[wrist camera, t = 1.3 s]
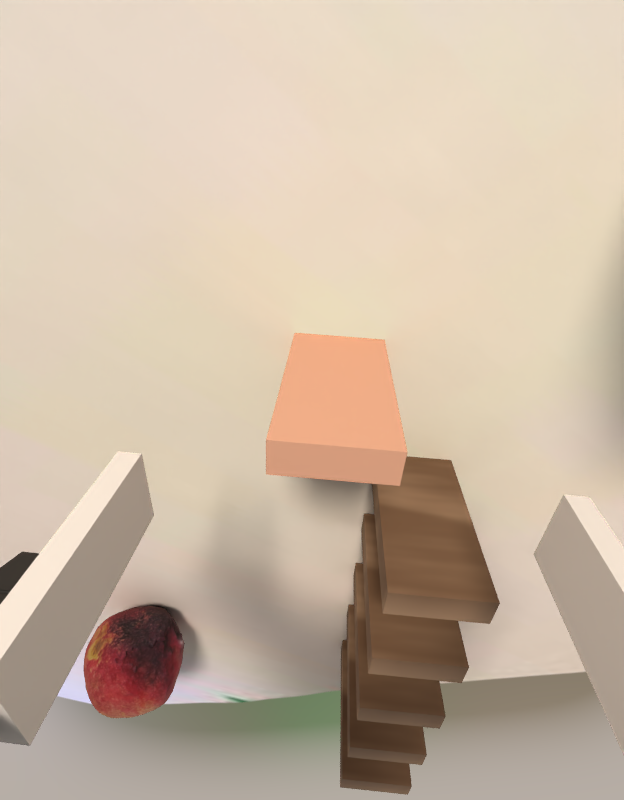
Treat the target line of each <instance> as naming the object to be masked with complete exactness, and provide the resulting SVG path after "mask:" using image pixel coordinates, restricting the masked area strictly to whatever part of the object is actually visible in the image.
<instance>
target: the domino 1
mask: <svg viewBox="0 0 624 800" xmlns="http://www.w3.org/2000/svg"><path fill="white" fill-rule="evenodd" d="M406 456H407V448H406V443H405V438H404V433H403V428H402V423H401V418H400V414H399V409H398V404H397V399H396V394H395V389H394V384H393V379H392V375H391V370H390V365H389V360H388V355H387V350H386V345H385V340H380V339H367V338H354V337H341V336H328V335H315V334H303V333H295V334H294V338H293V341H292V345H291V349H290V353H289V356H288V360H287V364H286V368H285V371H284V375H283V379H282V383H281V386H280V390H279V394H278V397H277V401H276V405H275V409H274V412H273V416H272V420H271V424H270V427H269V431H268V435H267V438H266V474H269V475H280V476H292V477H303V478H314V479H326V480H337V481H349V482H360V483H371V484H383V485H394V486H400V483H401V479H402V474H403V470H404V465H405V461H406Z"/></svg>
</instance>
